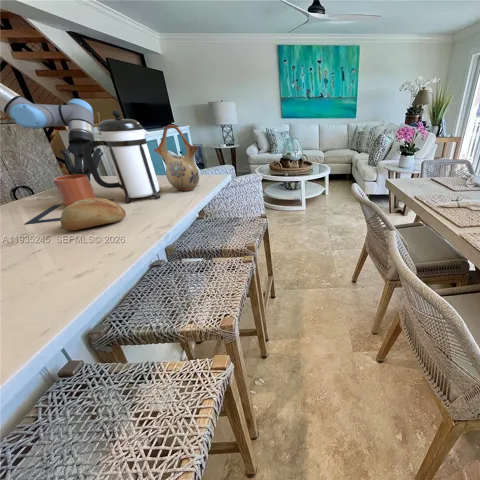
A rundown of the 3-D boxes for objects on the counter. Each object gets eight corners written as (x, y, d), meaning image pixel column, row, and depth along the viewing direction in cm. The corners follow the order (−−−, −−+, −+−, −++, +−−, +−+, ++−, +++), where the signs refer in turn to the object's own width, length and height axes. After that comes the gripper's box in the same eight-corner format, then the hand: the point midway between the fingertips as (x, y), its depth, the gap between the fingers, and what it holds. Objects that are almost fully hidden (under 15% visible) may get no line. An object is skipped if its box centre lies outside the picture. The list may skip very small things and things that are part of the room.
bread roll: (128, 224, 78) (119, 198, 74) (62, 238, 70) (48, 210, 67) (127, 214, 85) (118, 190, 81) (66, 226, 77) (53, 200, 74)
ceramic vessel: (209, 186, 114) (196, 123, 103) (204, 192, 107) (190, 124, 95) (169, 188, 112) (152, 124, 101) (161, 194, 104) (141, 125, 93)
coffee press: (145, 189, 110) (119, 110, 96) (174, 193, 105) (151, 109, 91) (102, 202, 96) (64, 111, 82) (133, 207, 91) (99, 110, 77)
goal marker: (24, 224, 79) (24, 223, 79) (54, 205, 94) (53, 204, 94) (96, 216, 84) (96, 215, 84) (113, 199, 99) (113, 198, 99)
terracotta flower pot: (62, 210, 89) (47, 181, 84) (72, 202, 96) (60, 175, 91) (93, 207, 92) (81, 178, 87) (101, 199, 99) (90, 173, 94)
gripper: (106, 141, 108) (109, 192, 102) (67, 143, 104) (67, 196, 98) (96, 128, 101) (99, 181, 95) (54, 130, 97) (54, 186, 91)
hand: (83, 189), depth 96 cm, fingers closed
